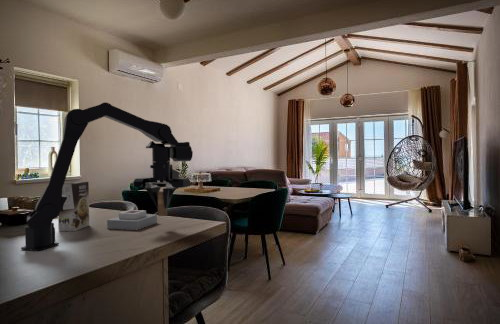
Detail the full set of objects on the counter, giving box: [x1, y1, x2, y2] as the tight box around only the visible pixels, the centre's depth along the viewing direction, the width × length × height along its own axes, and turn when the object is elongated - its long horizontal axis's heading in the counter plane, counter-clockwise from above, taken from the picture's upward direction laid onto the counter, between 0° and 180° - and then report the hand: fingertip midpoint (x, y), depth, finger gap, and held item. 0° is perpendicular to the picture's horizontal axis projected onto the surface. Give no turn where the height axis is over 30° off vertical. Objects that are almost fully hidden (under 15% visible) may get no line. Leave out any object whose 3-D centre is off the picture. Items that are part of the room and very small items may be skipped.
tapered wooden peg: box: [157, 190, 168, 217], centre depth 110 cm, size 3×3×8 cm
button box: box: [106, 209, 158, 231], centre depth 117 cm, size 12×12×5 cm
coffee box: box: [57, 181, 91, 232], centre depth 114 cm, size 9×6×16 cm
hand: (162, 208), depth 110 cm, fingers closed on tapered wooden peg, 3 cm apart
